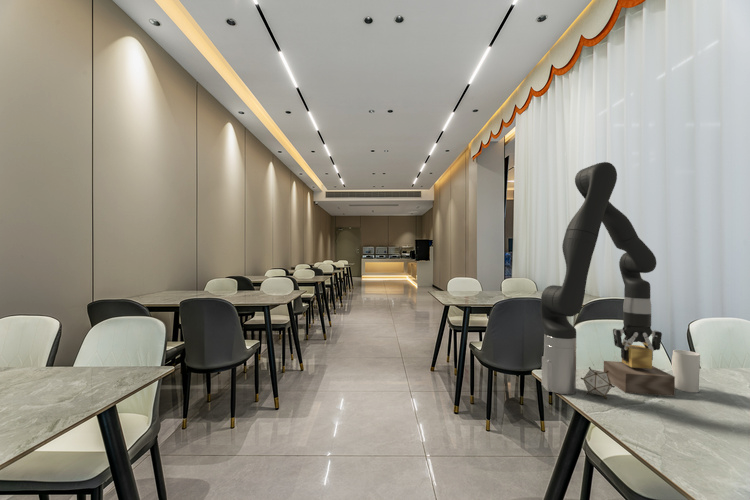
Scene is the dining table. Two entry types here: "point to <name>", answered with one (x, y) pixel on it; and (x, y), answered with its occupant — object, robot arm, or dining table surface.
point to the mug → (686, 370)
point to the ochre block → (639, 357)
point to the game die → (597, 382)
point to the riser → (640, 379)
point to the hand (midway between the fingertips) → (636, 361)
